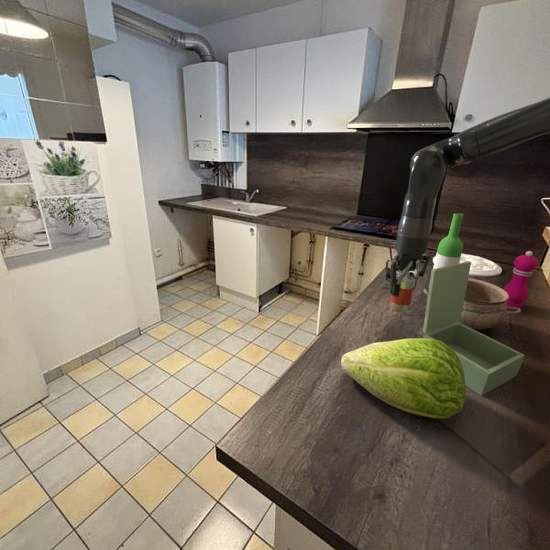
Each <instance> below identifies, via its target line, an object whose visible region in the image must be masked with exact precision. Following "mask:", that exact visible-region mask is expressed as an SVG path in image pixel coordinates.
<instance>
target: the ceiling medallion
mask: <svg viewBox="0 0 550 550" xmlns="http://www.w3.org/2000/svg"><path fill="white" fill-rule="evenodd" d="M435 258H436V255H435V256H433V258H432V263H433V264H434V262H435ZM466 261H471V266H470V271H469V277H480V278H481V277H484V278H488V277H497V276H499V275H500V274H501V273H502V271H503V268H502V267H501V266H500V265H499V264H497V263H495V262H494V261H492V260H490V259H487V258H484V257H480V256H479V255H472V254H466V253H462V254H461V258H460V262H459V263H462V262H466Z"/></svg>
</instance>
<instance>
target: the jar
mask: <svg viewBox="0 0 550 550" xmlns="http://www.w3.org/2000/svg"><path fill="white" fill-rule="evenodd" d="M398 277H399V275H397V276H396V279H398ZM415 281H416V279H415V278H414V277H412V276H410V275H409V274H406V276H405V277H403V278H402V281H401V283H400V289H399V294H398V296H396V297H395V296H393V295H391V294H390V297H389V302H388V307H389V308H390V309H391V310H393V311H395V312H399V313H407V312H409V311H410V310H411V304H412V302H413V296H414V292H415V290H414V286H415Z"/></svg>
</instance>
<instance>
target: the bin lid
mask: <svg viewBox="0 0 550 550" xmlns="http://www.w3.org/2000/svg"><path fill="white" fill-rule="evenodd" d="M470 266H471V261H466V262H462V263H457V264H453V265H449V266H445V267H441V268H437V269H433V268H432V269H431V271H430V278H429V284H430V285H428V289H429V292H428V295H427V300H426V305H425V306H426V307H425V314H424V320H423V321H424V322H423V328H422V333H423V334H424V335H425V334H427V333H430V332H433V331H435V330H438V329H441V328H443V327H446V326H449V325H451V324H453V323H456V322H459V321H460V320H461V314H462V309H463V304H464V298H465V293H466V287H467V282H468V278H469V277H470V275H469V271H470Z"/></svg>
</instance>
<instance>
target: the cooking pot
mask: <svg viewBox="0 0 550 550" xmlns="http://www.w3.org/2000/svg"><path fill="white" fill-rule="evenodd" d="M428 292H429V288H424V289H423V293H424V294H425V295H426V296H428ZM508 298H509V295H508V293H507V292H506V291H504V290H503V288H501V287H499V286H497V285H495V284H493V283H490V282H487V281H484V280H480V279H475V278H472V277H468V282H467V287H466V293H465V298H464V304H463V309H462V314H461V320H460V321H459V322H460V323H462V324H464V325H466V326H468V327H470V328H472V329H474V330H476V331H478V330H488V329H491V328H495V327H496V326H498V325H500V324H501V323H502V322H504V319H505V318H506V316H514V315H518V314H521V312H522V308H521V309H520V308H516V307H508V306H506V300H507V299H508ZM456 323H457V322H456ZM453 324H454V323H453Z"/></svg>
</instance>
